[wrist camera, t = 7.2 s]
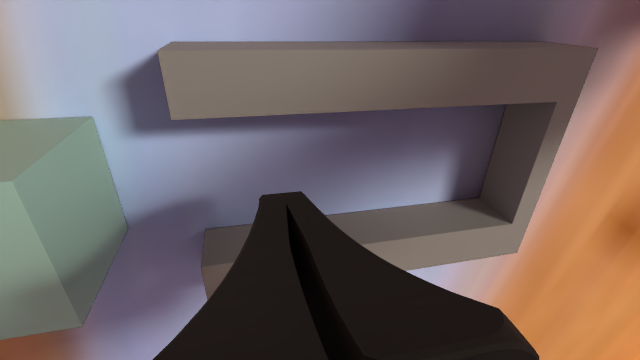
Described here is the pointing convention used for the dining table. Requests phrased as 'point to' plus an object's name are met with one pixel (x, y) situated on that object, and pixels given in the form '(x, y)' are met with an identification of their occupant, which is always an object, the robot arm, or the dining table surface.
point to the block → (54, 223)
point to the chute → (389, 94)
